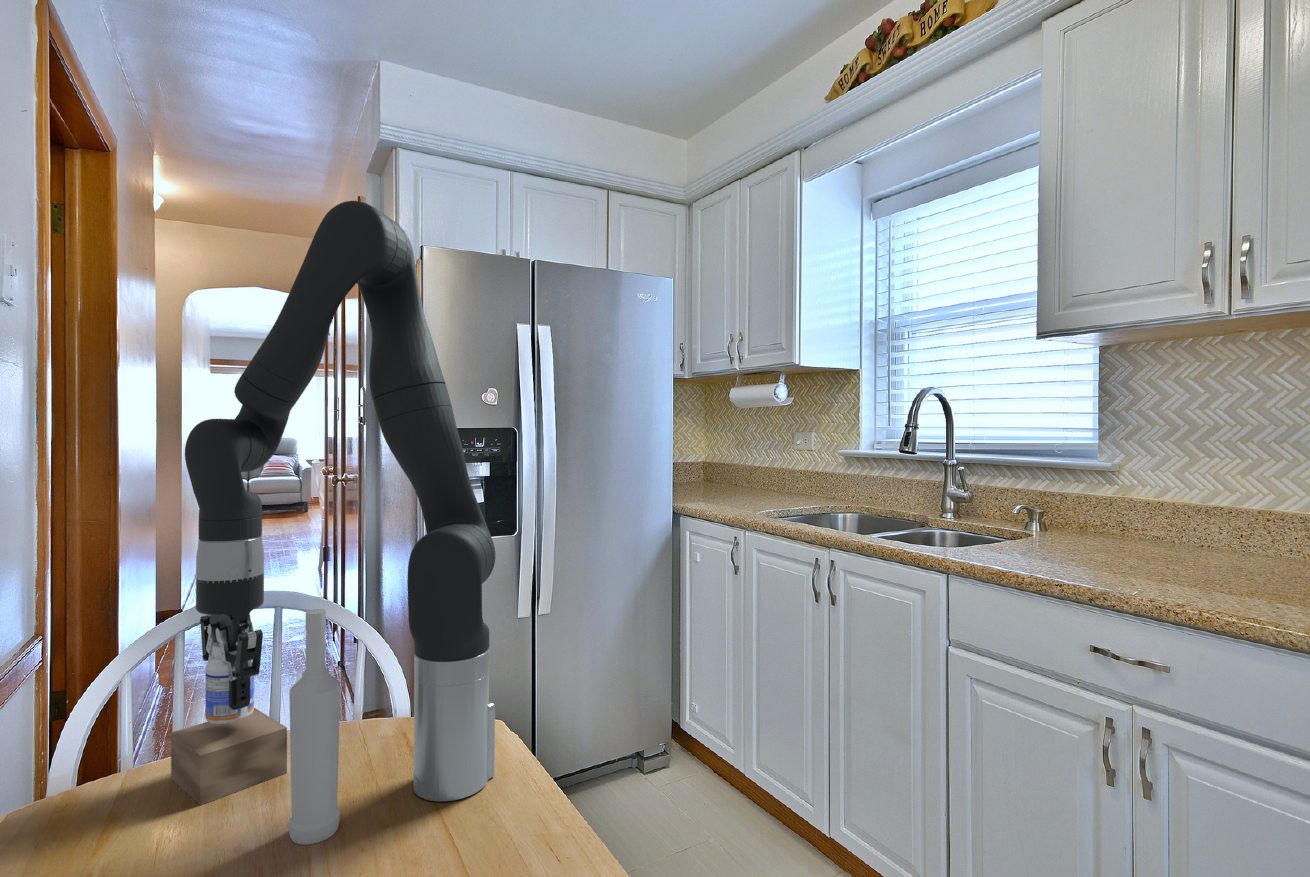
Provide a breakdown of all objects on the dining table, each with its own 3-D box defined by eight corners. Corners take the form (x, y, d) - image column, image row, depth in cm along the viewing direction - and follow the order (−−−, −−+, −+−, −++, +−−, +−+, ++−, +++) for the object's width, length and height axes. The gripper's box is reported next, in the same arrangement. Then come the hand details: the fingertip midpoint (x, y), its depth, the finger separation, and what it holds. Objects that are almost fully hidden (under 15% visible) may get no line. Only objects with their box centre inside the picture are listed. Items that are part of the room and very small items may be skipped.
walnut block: (254, 750, 96) (254, 707, 96) (286, 772, 90) (287, 727, 89) (171, 778, 88) (171, 732, 88) (200, 805, 82) (200, 755, 82)
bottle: (319, 848, 74) (320, 619, 73) (277, 842, 75) (278, 616, 74) (349, 821, 79) (351, 606, 78) (310, 816, 80) (311, 604, 79)
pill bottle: (233, 705, 92) (234, 633, 92) (263, 711, 90) (264, 638, 90) (194, 721, 87) (195, 645, 87) (225, 728, 85) (225, 650, 85)
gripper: (285, 575, 87) (285, 706, 87) (239, 560, 96) (238, 680, 96) (220, 585, 81) (219, 726, 81) (177, 569, 90) (176, 696, 90)
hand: (229, 700), depth 89 cm, fingers closed on pill bottle, 5 cm apart
